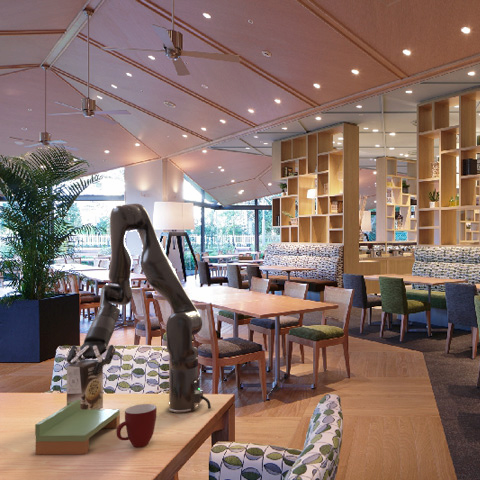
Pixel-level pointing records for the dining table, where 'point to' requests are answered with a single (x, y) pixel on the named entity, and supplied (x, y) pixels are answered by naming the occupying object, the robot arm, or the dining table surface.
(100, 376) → the coffee box
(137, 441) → the mug
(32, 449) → the dining table surface
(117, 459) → the dining table surface
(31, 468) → the dining table surface
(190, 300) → the robot arm
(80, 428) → the shelf
